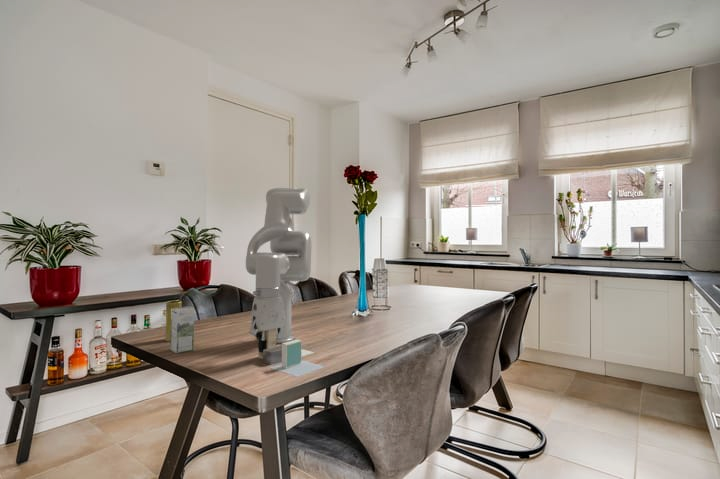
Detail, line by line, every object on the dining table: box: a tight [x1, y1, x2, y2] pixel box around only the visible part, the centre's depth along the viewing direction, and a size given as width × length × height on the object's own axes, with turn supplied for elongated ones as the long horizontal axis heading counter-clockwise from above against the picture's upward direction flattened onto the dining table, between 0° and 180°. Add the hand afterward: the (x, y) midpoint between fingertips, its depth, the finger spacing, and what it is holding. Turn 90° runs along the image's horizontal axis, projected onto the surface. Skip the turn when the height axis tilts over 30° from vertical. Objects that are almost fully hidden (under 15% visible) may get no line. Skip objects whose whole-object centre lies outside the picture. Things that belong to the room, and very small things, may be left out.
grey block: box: [257, 329, 282, 366], centre depth 121 cm, size 9×7×10 cm
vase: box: [164, 300, 183, 343], centre depth 145 cm, size 6×6×14 cm
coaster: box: [302, 349, 315, 358], centre depth 127 cm, size 7×6×1 cm
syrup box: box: [169, 306, 195, 354], centre depth 131 cm, size 6×6×14 cm
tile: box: [281, 339, 303, 369], centre depth 115 cm, size 2×6×7 cm, turn 142°
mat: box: [269, 359, 325, 378], centre depth 114 cm, size 12×11×1 cm
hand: (267, 350), depth 122 cm, fingers closed on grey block, 3 cm apart
